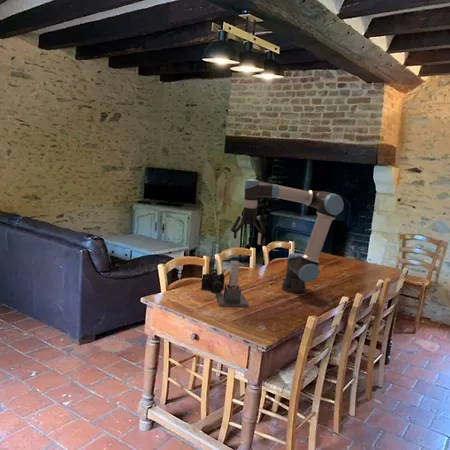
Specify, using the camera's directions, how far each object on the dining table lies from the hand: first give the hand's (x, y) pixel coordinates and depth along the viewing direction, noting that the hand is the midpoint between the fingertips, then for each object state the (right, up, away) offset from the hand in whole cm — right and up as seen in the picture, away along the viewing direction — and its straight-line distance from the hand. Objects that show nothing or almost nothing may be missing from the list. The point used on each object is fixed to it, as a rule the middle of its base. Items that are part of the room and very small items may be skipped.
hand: (247, 244), depth 238 cm
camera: (-20, -28, +13) cm, 37 cm away
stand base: (-9, -32, -4) cm, 33 cm away
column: (-9, -30, -4) cm, 32 cm away
